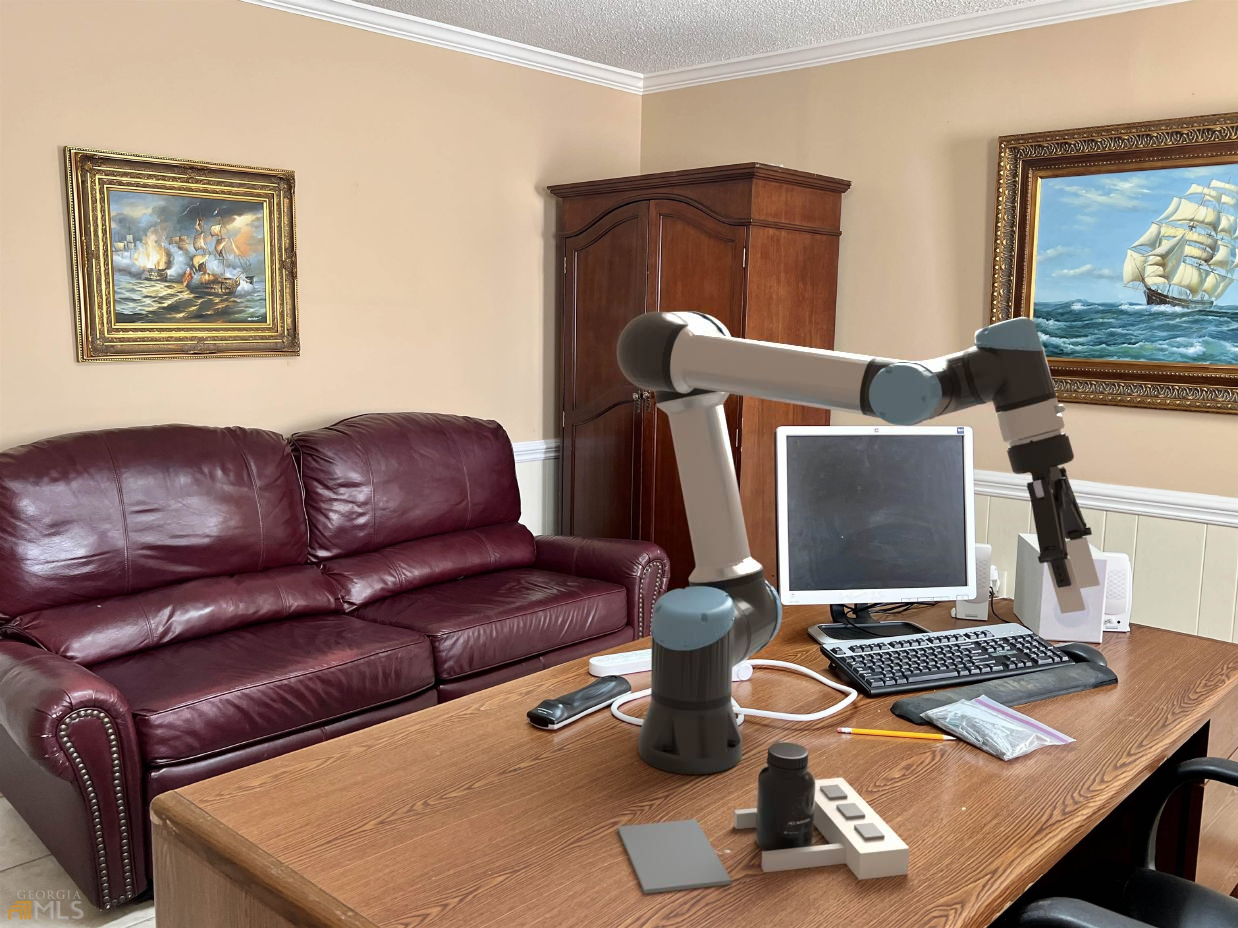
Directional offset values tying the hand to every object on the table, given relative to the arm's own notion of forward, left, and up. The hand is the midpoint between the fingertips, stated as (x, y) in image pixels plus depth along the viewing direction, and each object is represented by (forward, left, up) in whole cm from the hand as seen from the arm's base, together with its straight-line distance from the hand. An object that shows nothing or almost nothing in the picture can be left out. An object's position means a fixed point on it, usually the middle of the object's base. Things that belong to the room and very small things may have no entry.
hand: (1081, 598), depth 128 cm
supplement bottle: (+3, -40, -28) cm, 49 cm away
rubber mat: (+3, -54, -28) cm, 61 cm away
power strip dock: (+3, -37, -28) cm, 46 cm away
